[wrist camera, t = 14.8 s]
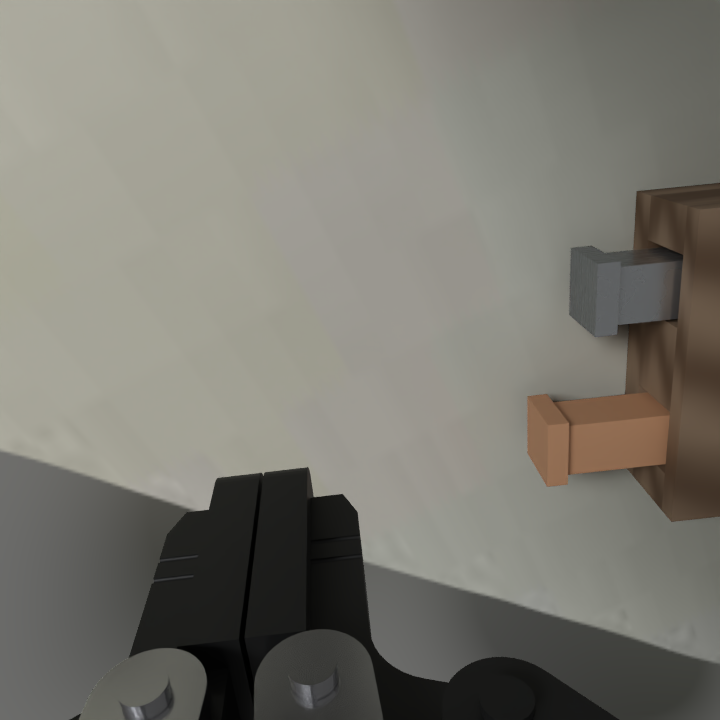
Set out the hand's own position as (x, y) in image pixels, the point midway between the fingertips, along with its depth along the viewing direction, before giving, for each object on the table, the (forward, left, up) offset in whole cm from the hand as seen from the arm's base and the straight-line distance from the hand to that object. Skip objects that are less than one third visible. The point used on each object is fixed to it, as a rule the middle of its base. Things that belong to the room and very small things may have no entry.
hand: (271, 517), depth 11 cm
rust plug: (+14, +19, -28) cm, 36 cm away
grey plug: (+5, +22, -28) cm, 35 cm away
